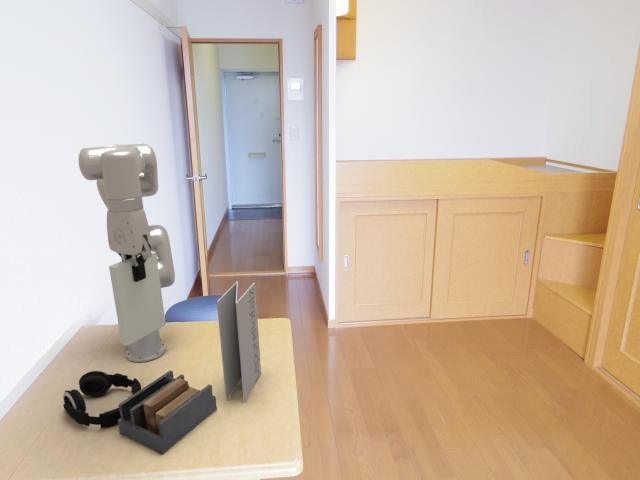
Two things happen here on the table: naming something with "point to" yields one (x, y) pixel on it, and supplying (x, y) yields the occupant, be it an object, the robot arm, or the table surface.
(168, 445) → the rack
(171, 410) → the offcut short
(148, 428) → the offcut tall
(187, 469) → the table surface
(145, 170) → the robot arm
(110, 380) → the headphones
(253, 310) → the brochure
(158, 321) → the pale grey panel
